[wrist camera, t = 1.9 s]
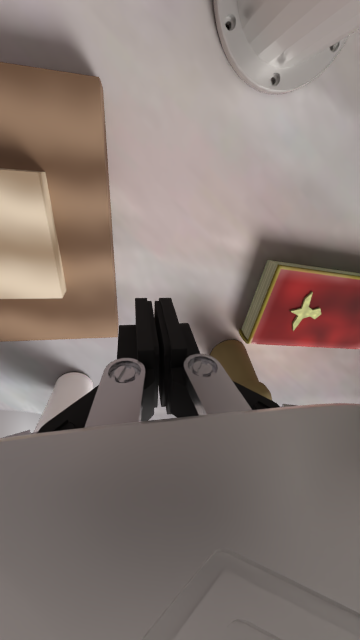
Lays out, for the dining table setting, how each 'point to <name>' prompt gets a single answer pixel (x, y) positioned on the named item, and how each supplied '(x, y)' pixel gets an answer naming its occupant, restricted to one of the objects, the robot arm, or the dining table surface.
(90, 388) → the drinking glass
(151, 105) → the dining table surface
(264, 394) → the cork
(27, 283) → the birch tile
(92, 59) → the dining table surface
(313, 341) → the hardcover book
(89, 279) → the walnut board
